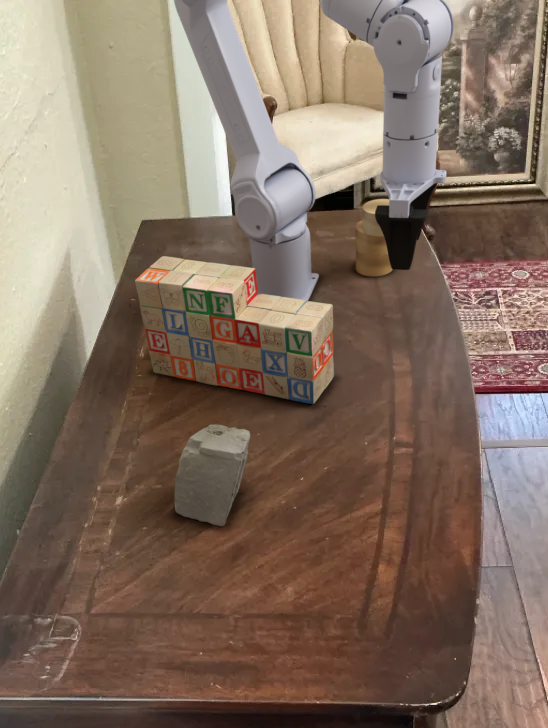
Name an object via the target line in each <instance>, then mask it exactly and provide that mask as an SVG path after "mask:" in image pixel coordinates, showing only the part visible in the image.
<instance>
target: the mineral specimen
mask: <svg viewBox="0 0 548 728" xmlns="http://www.w3.org/2000/svg"><path fill="white" fill-rule="evenodd" d="M250 440H251V431H249V430H247V429H246V428H240V429H239V428H237V427H235V426H233V427H228V426H226V425H223V424H209V425H208V426H207V427H204V428H202V429H201V430H199V431H197V432H196V433H193V434H192V435H191V436H190V437H189V438H188V440H187V443H186V445H185V447H184V448H183V449H182V451H181V452H182V453H181V456H180V457H179V460H178V468H177V471H176V476H175V481H174V495H173V496H174V511H175V513H176V514H178V515H180V516H182V517H184V518H189V519H192V520H198V521H199V522H205V523H209V524H211V525H213V526H217V527H218V526H219V527H224V526H225V524H226V523H227V518H228V516H229V513H230V511H231V509H232V505H233V502H235V498H236V497H237V495H238V492H239V490H240V486H241V482H242V477H243V474H244V470H245V467H246V463H247V458H248V455H249V450H248V448H249V442H250Z"/></svg>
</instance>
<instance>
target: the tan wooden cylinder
mask: <svg viewBox="0 0 548 728" xmlns="http://www.w3.org/2000/svg"><path fill="white" fill-rule="evenodd" d="M389 201H390V200H389V198H376V199H372V200H369V201H367V202H365V203H364V204H363V205H362V220H363V232H364V233H366V234H368V235H371V236H384V235H383V232H382V230H381V228H380V226H379V225H378V223H377V222H376V218H375V210H376V208H377V206H378V205H389Z"/></svg>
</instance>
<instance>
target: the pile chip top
mask: <svg viewBox="0 0 548 728" xmlns="http://www.w3.org/2000/svg"><path fill="white" fill-rule="evenodd" d="M356 250H357V251H358V252H360V253H362V254H365V255H382V254H386V253H388V251H387V246H386V241H385V238H384V236H371V235H368V234H366V233H364V232H363V219H362V220H360V221H358V222H357V223H356V224H355V251H356Z"/></svg>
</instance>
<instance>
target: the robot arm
mask: <svg viewBox="0 0 548 728" xmlns="http://www.w3.org/2000/svg"><path fill="white" fill-rule="evenodd" d="M173 2H174V7H175V10H176V13H177V16H178V17H179V20H180V22H181V25H182V28H183V30H184V33H185V36H186V38H187V40H188V43H189V45H190V48H191V50H192V53H193V55H194V58H195V61H196V63H197V66H198V69H199V70H200V73H201V77H202V78H203V80H204V83H205V85H206V88H207V90H208V92H209V96H210V98H211V101H212V103H213V106H214V108H215V110H216V113H217V116H218V119H219V121H220V123H221V127H222V129H223V131H224V133H225V136H226V138H227V141H228V144H229V146H230V148H231V151H232V153H233V156H234V158H235V161H236V162H235V167H234V170H233V173H232V177H231V180H230V183H229V190H230V192H231V194H232V197H233V201H234V202H233V203H234V215H235V219H236V222H237V224H238V227H239V228H240V229H241V230H242V232H243V233H244V234H245V235H246V239H247V240H249V247H250V258H251V268H255V270H256V279H257V287H258V293H257V294H258V295H259V294H266V295H274V296H280V297H287V298H294V299H301V300H306V301H307V302H308V301H310V299H311V296H312V293H313V291H314V290H315V287H316V285H317V282H318V280H319V278H320V275H319V273H315V272H312V247H311V244H312V243H311V232H310V229H309V227H308V225H307V222H308V212H310V210H311V209H312V208H313V207H314V204H315V202H316V187H315V184H314V181H313V179H312V177H311V176H310V174H309V173H308V172H307V171H306V169H304V167H303V165H302V164H301V163H300V160H299V158H298V155H297V153H296V151H294V150H293V149H291V148H289V147H287V146H285V145H284V144H282V143H280V141H279V140H278V136H277V134H276V131H275V129H274V126H273V123H272V121H271V118H270V116H269V113H268V111H267V107H266V105H265V102H264V100H263V96H262V94H261V91H260V89H259V86H258V82H257V81H256V77H255V75H254V72H253V70H252V67H251V64H250V61H249V59H248V56H247V53H246V51H245V48H244V45H243V43H242V40H241V38H240V35H239V31H238V30H237V27H236V24H235V22H234V19H233V15H232V14H231V13H232V12H231V11H230V7H229V5H228V0H173ZM319 2H320V8H321V11H322V14H323V15H324V16H325V17H327V18H329V19H330V20H332V22H334V23H336V24H338V25H339V26H340V27H342V28H344V29H345V30H347V31H348V32H349V33H351V34H353V35H354V36H356V37H357V38H359V39H360V40H362V41H363V42H364V43H366V44H368V45H369V46H371V47H372V48H373V52H374V55H375V57H376V59H377V62H378V63H379V64H380V66H381V68H382V73H383V122H382V123H383V125H382V127H383V129H382V130H383V131H382V170H381V173H380V184H381V187H382V188H383V189H384V192H385V194H386V196H387V197H388V199H389V200H390V201H389V205H378V206H377V208H376V210H375V218H376V222H377V223H378V225H379V226H380V228H381V230H382V232H383V235H384V238H385V241H386V246H387V251H388V256H389V261H390V265H391V268H392V269H393V270H399V271H409V270H411V266H412V264H413V260H414V256H415V251H416V247H417V241H419V240H420V237H421V234H422V230H423V226H424V224H425V222H426V220H427V218H428V216H429V214H430V213H429V212H430V209H427V207H428V204H429V202H430V198H431V196H432V194H433V192H434V190H435V188H436V186H437V184H443V183H445V182H446V180H447V170H444V169H437V151H438V137H439V136H438V135H439V120H440V119H439V118H440V106H441V105H440V104H441V88H442V87H441V86H442V66H443V55H442V53H443V52H444V51H445V50H446V49H447V47H448V46H449V44H450V42H451V41H452V38H453V34H454V27H455V24H454V17H453V13H452V10H451V8H450V6H449V4H447V2H446V1H444V0H319ZM440 54H441V55H440Z"/></svg>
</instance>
